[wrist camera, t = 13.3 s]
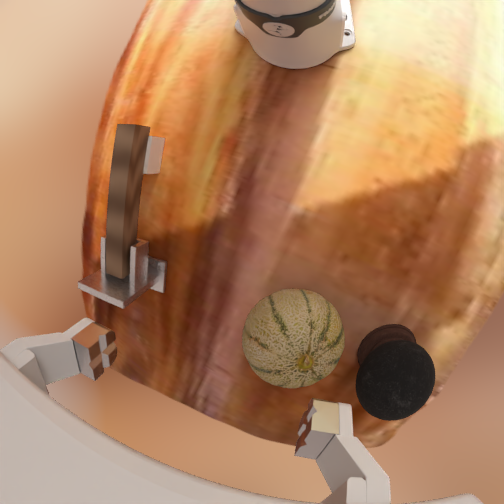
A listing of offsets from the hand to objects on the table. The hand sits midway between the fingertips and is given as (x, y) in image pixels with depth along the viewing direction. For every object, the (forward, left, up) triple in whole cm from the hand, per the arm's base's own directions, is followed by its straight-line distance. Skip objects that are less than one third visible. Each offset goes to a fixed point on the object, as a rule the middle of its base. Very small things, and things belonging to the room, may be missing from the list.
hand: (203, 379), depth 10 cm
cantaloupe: (+15, +5, -34) cm, 38 cm away
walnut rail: (+2, -25, -30) cm, 39 cm away
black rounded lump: (+18, +23, -34) cm, 45 cm away
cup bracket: (+13, -25, -34) cm, 44 cm away
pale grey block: (-6, -25, -34) cm, 43 cm away
